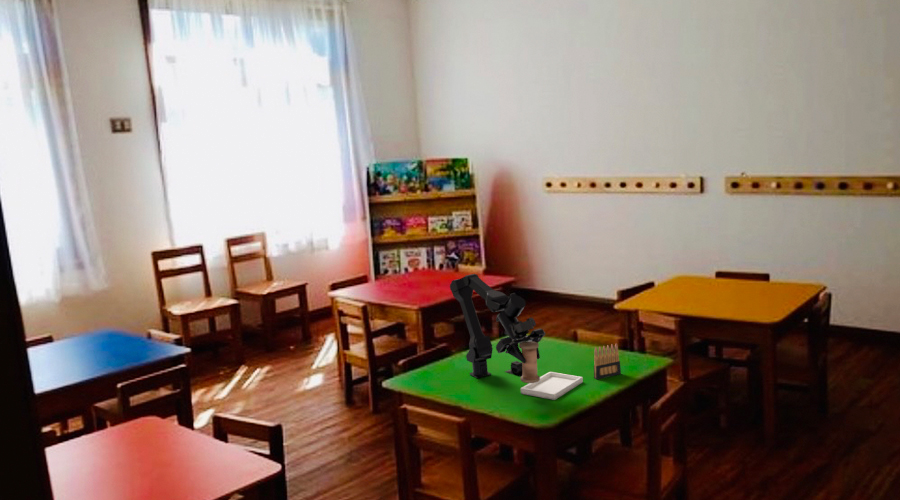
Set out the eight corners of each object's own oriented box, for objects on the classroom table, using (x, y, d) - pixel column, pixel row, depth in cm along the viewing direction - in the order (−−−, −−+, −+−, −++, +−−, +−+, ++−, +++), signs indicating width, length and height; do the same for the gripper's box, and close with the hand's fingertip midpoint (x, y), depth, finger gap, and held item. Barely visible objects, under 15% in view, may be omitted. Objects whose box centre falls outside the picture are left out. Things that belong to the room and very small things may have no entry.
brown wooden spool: (516, 380, 254) (515, 344, 251) (529, 374, 258) (528, 340, 256) (530, 384, 248) (529, 348, 246) (543, 379, 253) (542, 343, 251)
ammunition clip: (596, 379, 266) (594, 348, 264) (593, 378, 267) (592, 347, 265) (621, 374, 269) (619, 343, 267) (618, 372, 271) (616, 342, 269)
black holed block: (534, 375, 278) (534, 363, 277) (520, 379, 274) (519, 368, 273) (514, 368, 288) (513, 357, 287) (500, 372, 284) (499, 361, 283)
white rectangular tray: (554, 400, 249) (554, 394, 248) (520, 393, 258) (520, 388, 257) (582, 382, 264) (582, 377, 263) (550, 376, 273) (549, 371, 272)
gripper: (498, 316, 248) (519, 354, 240) (540, 306, 257) (562, 342, 250) (486, 334, 256) (507, 371, 248) (528, 323, 265) (549, 359, 258)
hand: (532, 360), depth 251 cm, fingers closed on brown wooden spool, 6 cm apart
